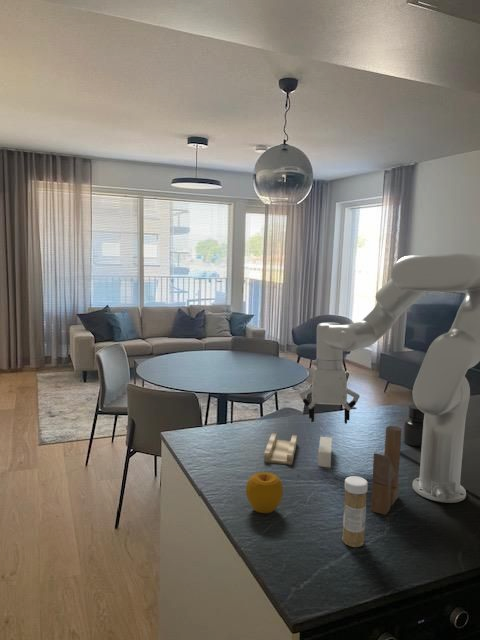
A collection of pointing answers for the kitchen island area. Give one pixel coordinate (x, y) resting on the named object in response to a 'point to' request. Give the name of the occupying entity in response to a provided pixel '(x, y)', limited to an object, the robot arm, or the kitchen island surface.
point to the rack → (280, 450)
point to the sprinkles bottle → (354, 511)
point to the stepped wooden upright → (386, 473)
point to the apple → (264, 492)
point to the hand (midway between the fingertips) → (329, 421)
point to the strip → (325, 452)
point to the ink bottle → (414, 426)
